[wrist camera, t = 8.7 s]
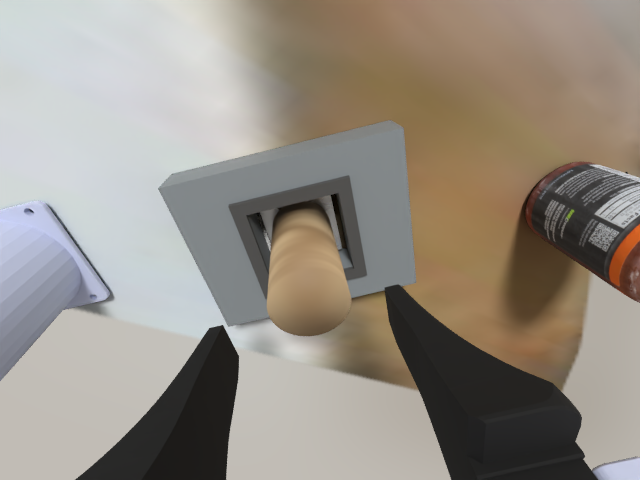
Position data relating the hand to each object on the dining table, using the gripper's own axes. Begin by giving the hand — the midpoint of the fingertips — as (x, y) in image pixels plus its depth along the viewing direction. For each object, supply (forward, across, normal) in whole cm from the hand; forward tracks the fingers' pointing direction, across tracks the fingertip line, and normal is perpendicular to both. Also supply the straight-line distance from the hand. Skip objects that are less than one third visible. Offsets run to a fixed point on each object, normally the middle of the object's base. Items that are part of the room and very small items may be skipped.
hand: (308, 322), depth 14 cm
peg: (+9, 0, 0) cm, 9 cm away
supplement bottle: (+10, -19, +3) cm, 22 cm away
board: (+10, 0, 0) cm, 10 cm away
